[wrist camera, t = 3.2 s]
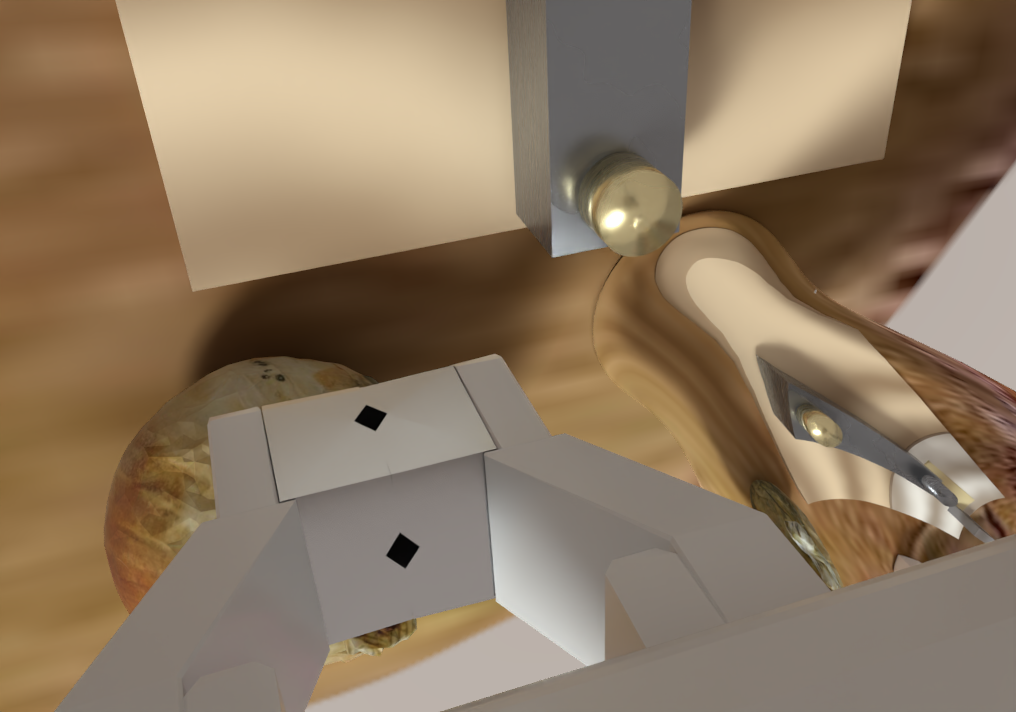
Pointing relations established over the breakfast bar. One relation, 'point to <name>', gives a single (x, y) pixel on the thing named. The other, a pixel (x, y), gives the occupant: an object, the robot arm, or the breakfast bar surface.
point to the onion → (206, 476)
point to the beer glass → (808, 403)
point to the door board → (455, 116)
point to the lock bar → (598, 120)
